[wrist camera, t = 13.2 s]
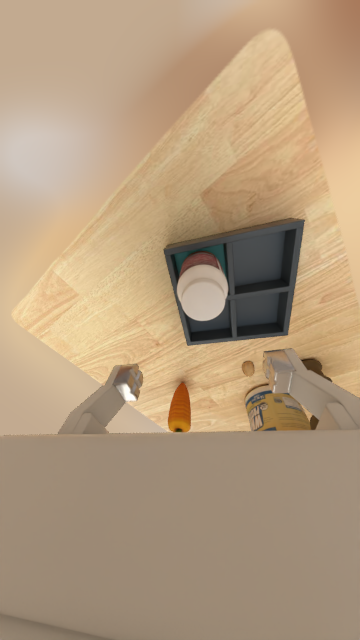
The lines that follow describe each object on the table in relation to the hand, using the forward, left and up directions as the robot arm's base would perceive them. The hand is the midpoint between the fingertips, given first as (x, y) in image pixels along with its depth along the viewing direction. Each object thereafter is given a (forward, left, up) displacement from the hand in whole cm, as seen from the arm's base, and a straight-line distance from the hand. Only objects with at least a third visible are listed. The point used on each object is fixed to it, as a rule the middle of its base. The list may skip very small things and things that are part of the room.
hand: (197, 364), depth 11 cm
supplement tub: (+36, +13, -21) cm, 43 cm away
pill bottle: (0, +1, -20) cm, 20 cm away
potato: (+24, +8, -21) cm, 33 cm away
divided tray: (+4, +5, -20) cm, 21 cm away
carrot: (+28, -8, -21) cm, 36 cm away
